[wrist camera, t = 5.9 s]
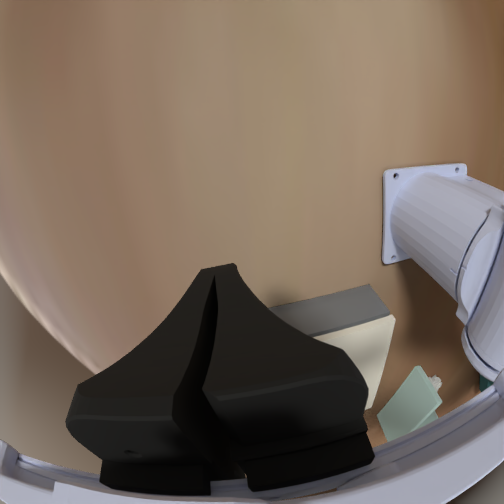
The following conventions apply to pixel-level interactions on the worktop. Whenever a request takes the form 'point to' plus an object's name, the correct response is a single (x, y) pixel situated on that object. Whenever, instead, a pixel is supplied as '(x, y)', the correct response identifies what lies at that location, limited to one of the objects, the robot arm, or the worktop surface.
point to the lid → (365, 349)
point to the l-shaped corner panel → (411, 405)
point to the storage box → (333, 311)
